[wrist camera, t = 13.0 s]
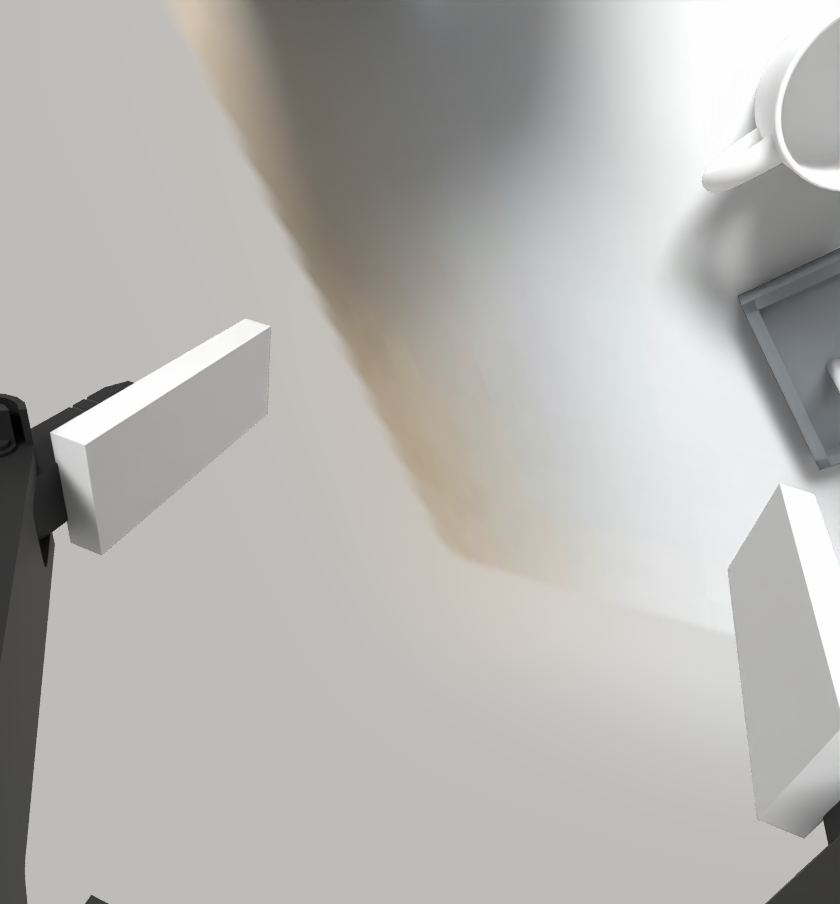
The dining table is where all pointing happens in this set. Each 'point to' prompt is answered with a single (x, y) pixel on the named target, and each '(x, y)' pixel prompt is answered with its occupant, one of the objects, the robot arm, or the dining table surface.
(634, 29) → the dining table surface
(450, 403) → the dining table surface
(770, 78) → the mug
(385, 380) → the dining table surface
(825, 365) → the tray
